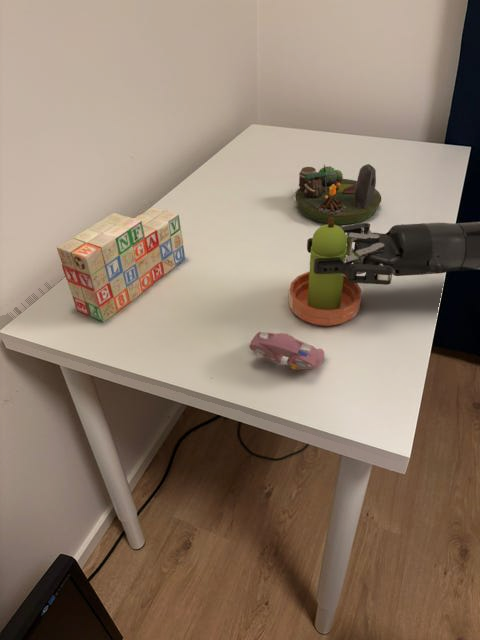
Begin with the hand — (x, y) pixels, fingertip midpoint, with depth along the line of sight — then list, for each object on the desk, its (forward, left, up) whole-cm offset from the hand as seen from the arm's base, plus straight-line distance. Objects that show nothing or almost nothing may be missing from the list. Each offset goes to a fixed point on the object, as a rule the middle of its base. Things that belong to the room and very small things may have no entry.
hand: (311, 255), depth 72 cm
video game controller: (-8, +10, -10) cm, 17 cm away
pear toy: (-1, -2, -9) cm, 9 cm away
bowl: (-1, -2, -10) cm, 10 cm away
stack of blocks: (+23, +20, -10) cm, 32 cm away
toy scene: (+24, -27, -10) cm, 37 cm away
